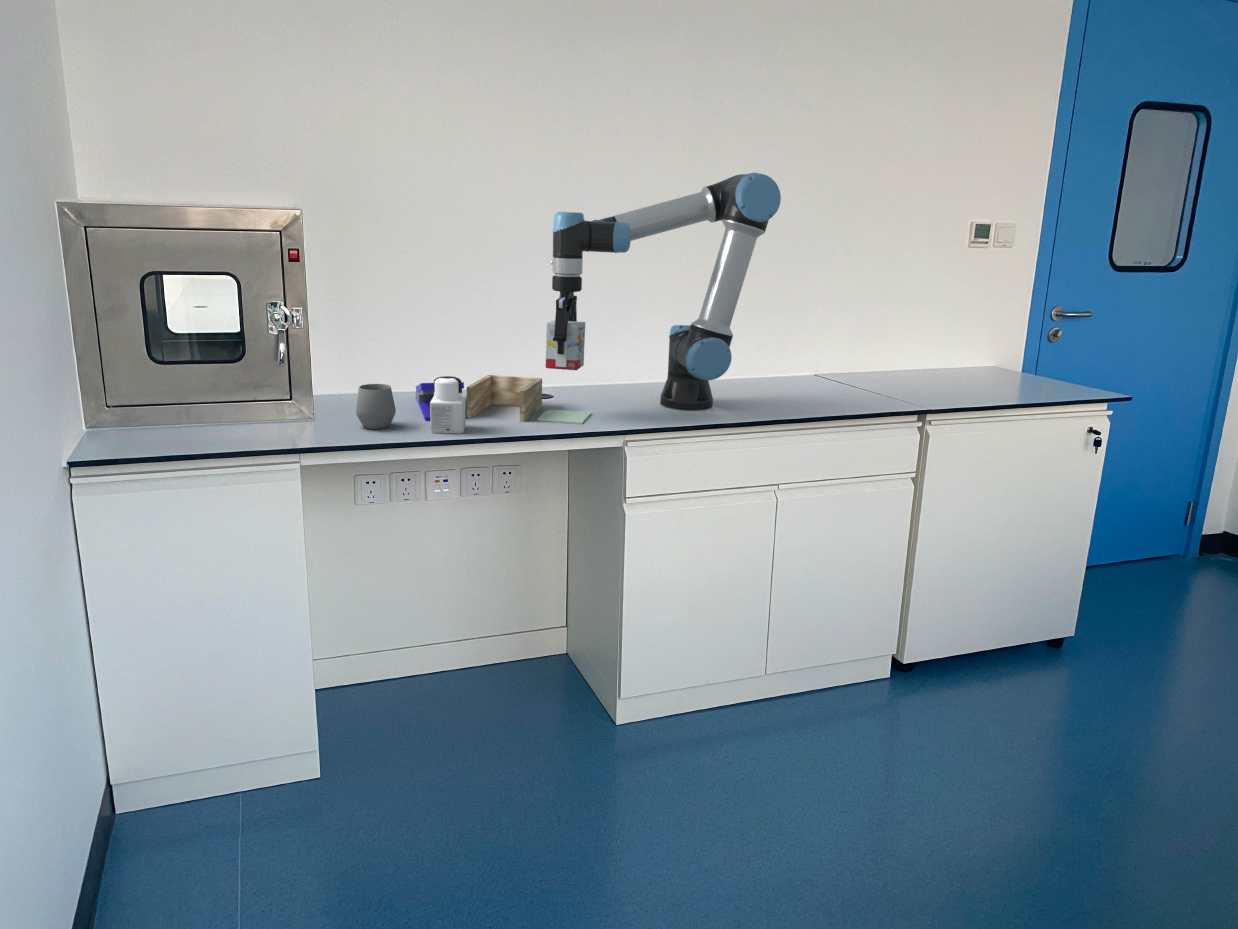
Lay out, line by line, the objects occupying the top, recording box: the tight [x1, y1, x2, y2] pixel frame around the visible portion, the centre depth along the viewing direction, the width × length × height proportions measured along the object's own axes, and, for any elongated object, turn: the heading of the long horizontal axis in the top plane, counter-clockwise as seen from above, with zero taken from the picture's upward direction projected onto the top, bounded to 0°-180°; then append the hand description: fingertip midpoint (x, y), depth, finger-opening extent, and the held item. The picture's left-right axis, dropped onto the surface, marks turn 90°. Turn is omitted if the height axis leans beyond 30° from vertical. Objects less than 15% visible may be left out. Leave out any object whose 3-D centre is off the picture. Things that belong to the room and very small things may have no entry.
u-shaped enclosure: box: [466, 374, 543, 422], centre depth 235 cm, size 15×18×8 cm
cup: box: [355, 383, 397, 430], centre depth 214 cm, size 10×9×10 cm
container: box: [429, 375, 467, 434], centre depth 214 cm, size 8×8×13 cm
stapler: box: [415, 381, 465, 422], centre depth 236 cm, size 12×28×10 cm, turn 18°
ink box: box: [545, 319, 586, 371], centre depth 227 cm, size 9×9×12 cm
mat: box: [536, 409, 592, 425], centre depth 232 cm, size 12×12×1 cm
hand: (565, 363), depth 228 cm, fingers closed on ink box, 9 cm apart
